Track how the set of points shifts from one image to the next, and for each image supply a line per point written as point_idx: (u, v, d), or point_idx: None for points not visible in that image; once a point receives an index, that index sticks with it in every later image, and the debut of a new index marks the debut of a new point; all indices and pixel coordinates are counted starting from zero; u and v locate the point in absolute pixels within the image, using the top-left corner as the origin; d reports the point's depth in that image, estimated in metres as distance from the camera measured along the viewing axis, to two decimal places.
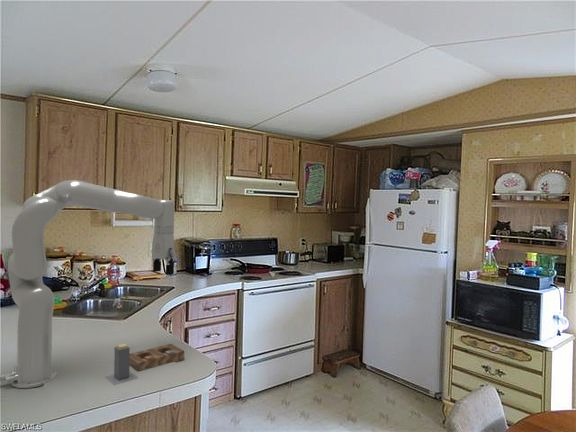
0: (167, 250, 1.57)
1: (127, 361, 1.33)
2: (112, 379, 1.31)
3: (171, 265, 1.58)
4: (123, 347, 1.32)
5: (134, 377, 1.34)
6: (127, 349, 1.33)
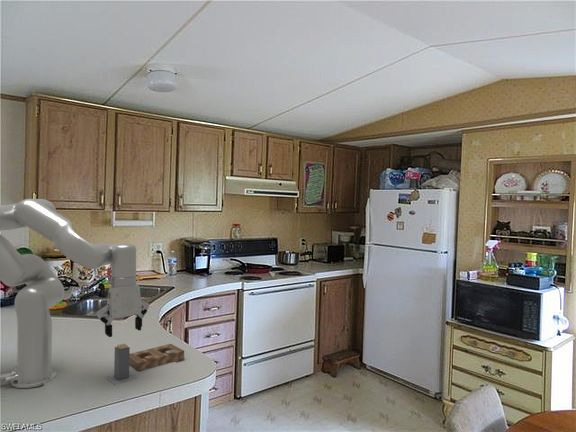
0: None
1: (127, 361, 1.33)
2: (112, 379, 1.31)
3: None
4: (123, 347, 1.32)
5: (134, 377, 1.34)
6: (127, 349, 1.33)
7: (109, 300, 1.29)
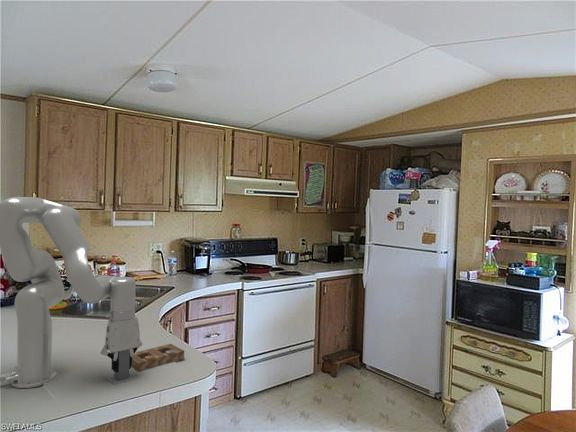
0: None
1: (127, 361, 1.33)
2: (112, 379, 1.31)
3: None
4: None
5: (134, 377, 1.34)
6: None
7: (108, 334, 1.29)
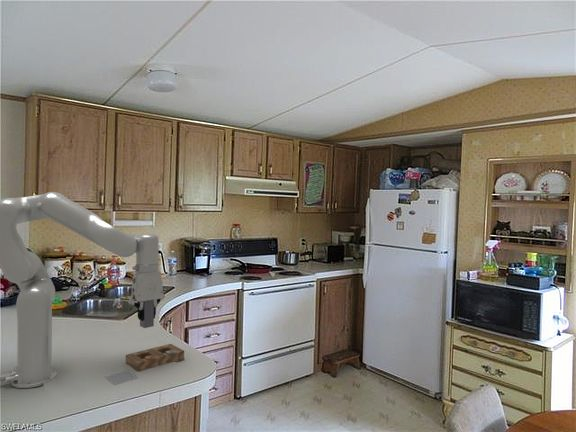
0: None
1: (152, 311, 1.44)
2: (112, 379, 1.31)
3: None
4: None
5: (134, 377, 1.34)
6: (152, 300, 1.44)
7: (134, 285, 1.41)
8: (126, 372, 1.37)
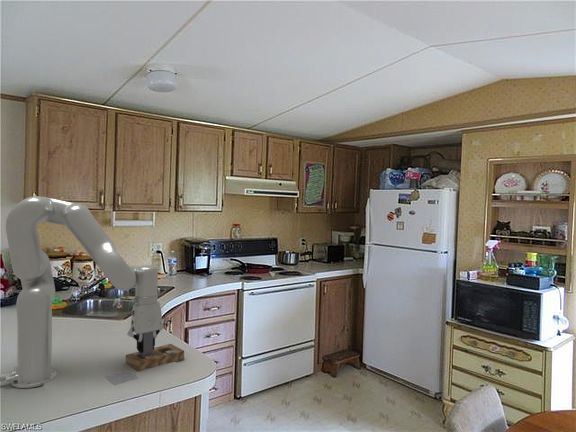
0: None
1: (151, 342, 1.45)
2: (112, 379, 1.31)
3: None
4: None
5: (134, 377, 1.34)
6: None
7: (133, 317, 1.41)
8: (126, 372, 1.37)
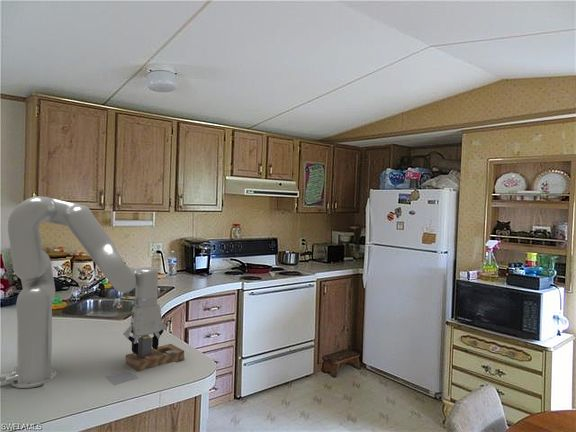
0: None
1: (149, 350, 1.45)
2: (112, 379, 1.31)
3: None
4: (146, 337, 1.44)
5: (134, 377, 1.34)
6: (150, 339, 1.44)
7: (133, 319, 1.41)
8: (126, 372, 1.37)
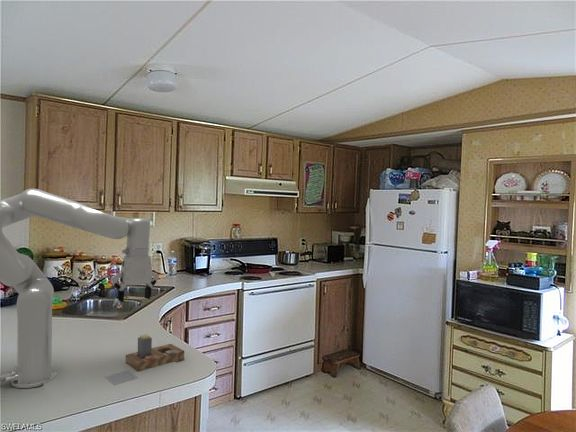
0: None
1: (149, 350, 1.45)
2: (112, 379, 1.31)
3: None
4: (146, 337, 1.44)
5: (134, 377, 1.34)
6: (149, 339, 1.44)
7: (123, 268, 1.40)
8: (126, 372, 1.37)
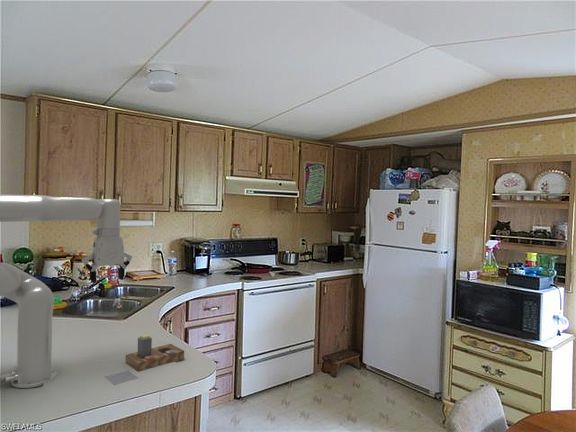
0: None
1: (149, 350, 1.45)
2: (112, 379, 1.31)
3: None
4: (146, 337, 1.44)
5: (134, 377, 1.34)
6: (149, 339, 1.44)
7: (94, 249, 1.40)
8: (126, 372, 1.37)
